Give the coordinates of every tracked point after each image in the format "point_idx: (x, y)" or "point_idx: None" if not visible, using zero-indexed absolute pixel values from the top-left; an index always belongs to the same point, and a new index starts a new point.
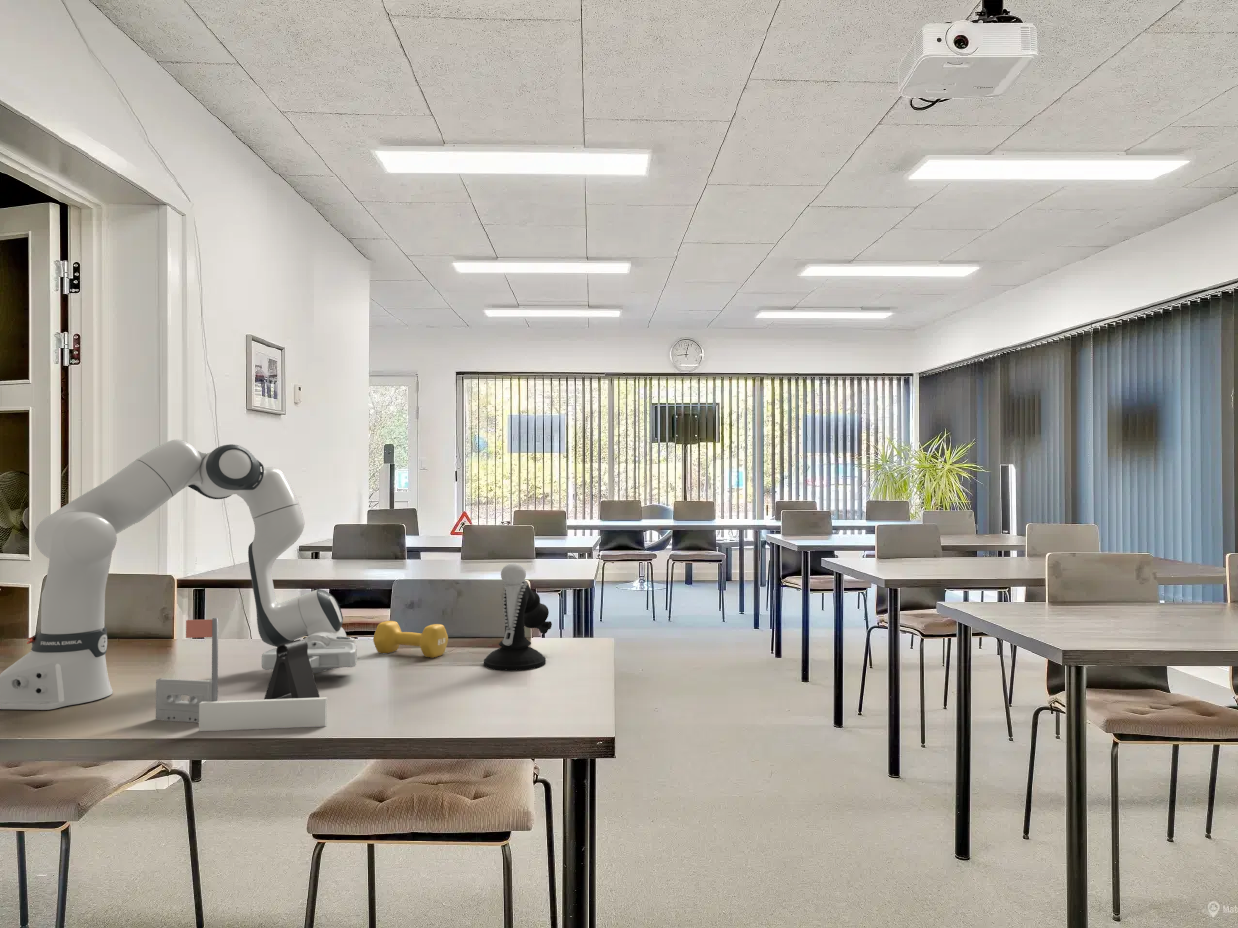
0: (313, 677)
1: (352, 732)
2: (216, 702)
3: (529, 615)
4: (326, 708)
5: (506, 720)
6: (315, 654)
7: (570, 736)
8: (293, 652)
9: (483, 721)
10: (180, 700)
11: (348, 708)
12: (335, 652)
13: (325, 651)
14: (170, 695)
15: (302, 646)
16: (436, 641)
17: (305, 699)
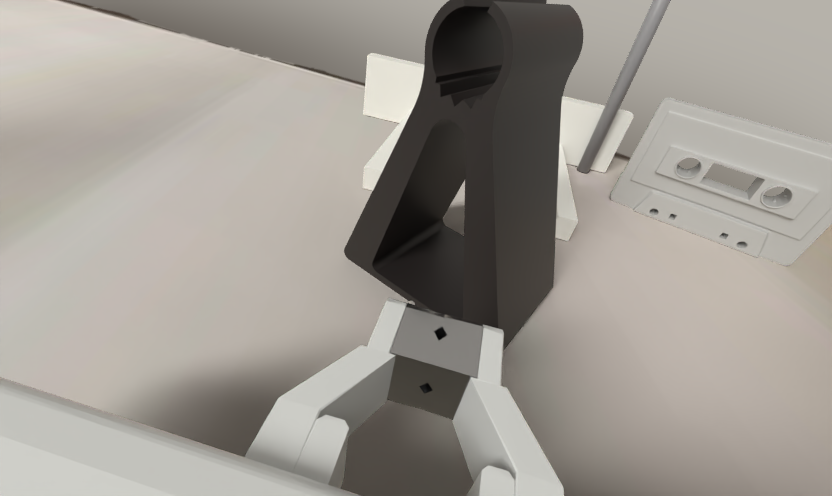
0: (374, 194)
1: (329, 86)
2: (595, 104)
3: None
4: (367, 79)
5: (64, 34)
6: (291, 473)
7: (69, 4)
8: (491, 48)
9: (102, 43)
10: (749, 197)
11: (289, 153)
12: (15, 385)
13: (111, 480)
14: (788, 190)
15: (457, 30)
16: None
17: (411, 62)
